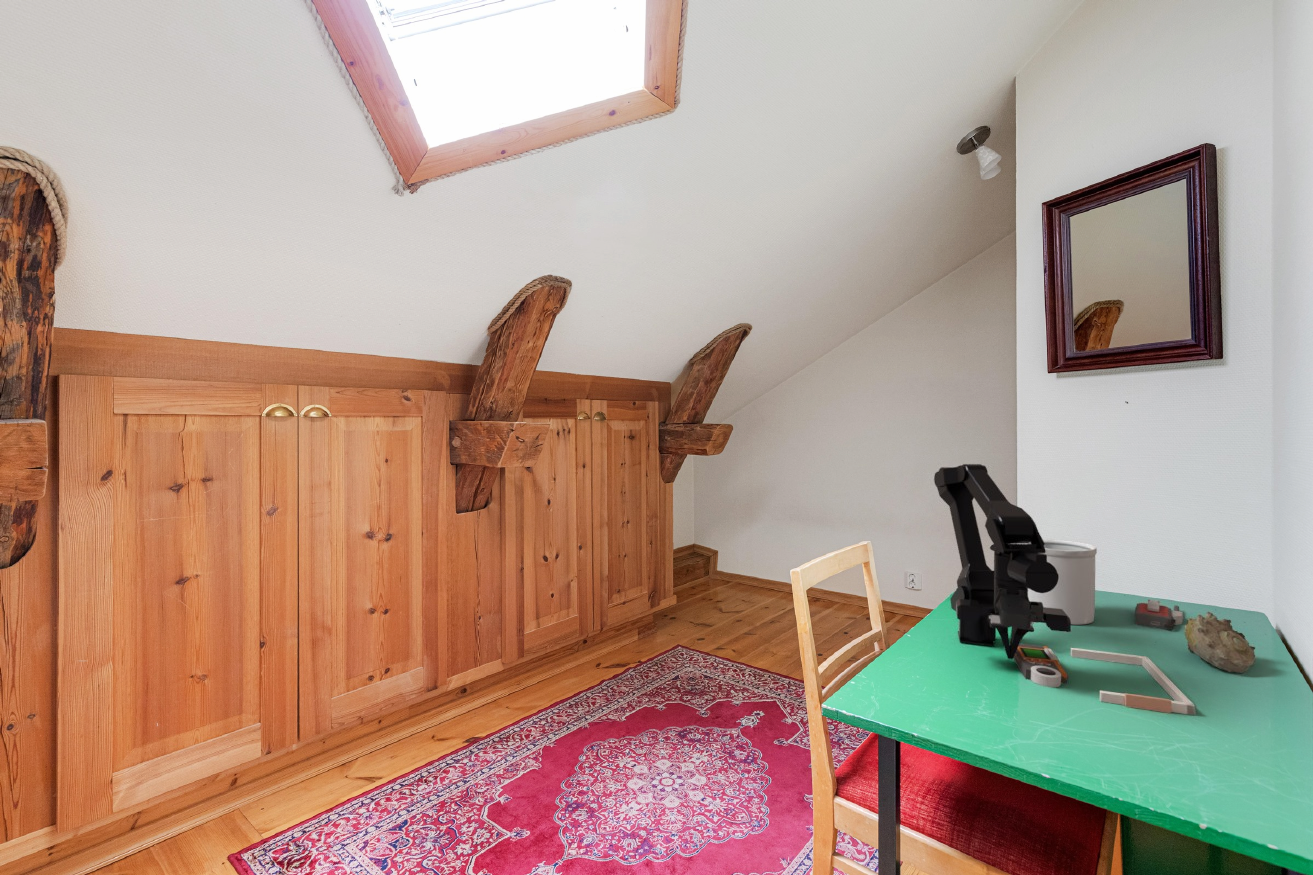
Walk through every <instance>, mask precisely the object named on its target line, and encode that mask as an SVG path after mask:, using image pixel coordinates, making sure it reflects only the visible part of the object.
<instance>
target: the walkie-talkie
mask: <svg viewBox="0 0 1313 875" xmlns="http://www.w3.org/2000/svg"><path fill="white" fill-rule="evenodd" d="M1134 612H1135V614H1134V615H1135V617H1134V618H1135V619H1134V622H1135V623H1134V624H1135V625H1137V626H1142V627H1143V626H1144V627H1149V628H1156V629H1159V630H1160V629H1161V630H1167V631H1169V630H1170V631H1171V630H1172V629H1174V626H1177V625H1182V624H1183V621H1184V612H1183V611H1180V606H1178V605H1174V606H1173V610H1172V608H1170V607H1168V606H1166V605H1162V604H1161V605H1160V600H1154V599H1148V600H1147V602H1146V603H1145V602H1139V603H1136V606H1135V609H1134Z"/></svg>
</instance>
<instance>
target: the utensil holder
mask: <svg viewBox="0 0 1313 875" xmlns="http://www.w3.org/2000/svg"><path fill="white" fill-rule="evenodd" d="M1042 539H1043V538H1042ZM1043 541H1044V543H1045V544H1044V548H1045V550H1046V552H1045V553H1043V554H1046V555H1047V562H1049V563H1050V564H1052V565H1053V566H1054V567H1055V569H1056V570H1057V573H1058V575H1059V579H1058V583H1057V585H1056V586H1055V588H1054V589H1052V590H1051V591H1049V592H1047V593H1037V592H1035V591H1033V590H1031V589H1029V588H1028V598H1029V601H1033V602H1042V604H1043V607H1046V608H1056V609H1062V610H1063V611H1064V612H1065V613H1066V614H1067V615H1068V617H1069V618H1070V621H1071V625H1088V624H1091V623H1093V622H1094V621H1095V610H1096V555H1097V552H1098V549H1097V547H1096V546H1095V545H1093V544H1090V543H1086V542H1081V541H1080V542H1079V541H1074V540H1066V539H1065V540H1064V539H1052V538H1050V539H1049V538H1046V539H1045V538H1044V539H1043ZM1027 544H1031V542H1029V543H1027Z"/></svg>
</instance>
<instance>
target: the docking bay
mask: <svg viewBox="0 0 1313 875" xmlns="http://www.w3.org/2000/svg"><path fill="white" fill-rule="evenodd" d="M1070 656H1071V657H1072V658H1078V659H1085V660H1086V659H1087V660H1096V661H1103V662H1112V663H1119V664H1125V665H1126V664H1127V665H1134V666H1135V665H1136V666H1142V667H1143V668H1144V669H1145V670H1146V671H1147V672H1148V673H1149V674H1150V676H1151V677H1152V678H1154V679H1155V681H1156V682H1157V683H1158V685H1159V686H1161V688H1162V689H1163V690H1164V691H1165V692H1166V693H1167V694H1168V695H1169V696H1170V697H1171V698H1172V700H1171V699H1168V698H1161V697H1156V696H1155V697H1154V696H1148V695H1141V694H1132V693H1126V692H1125V693H1121V692H1120V693H1119V692H1114V691H1113V692H1112V691H1108V690H1099V701H1100V702H1102V703H1109V704H1114V705H1115V704H1116V705H1123V706H1125V707H1127V708H1133V709H1140V710H1145V711H1146V710H1147V711H1154V712H1161V713H1167V714H1172V713H1175V714H1176V713H1177V714H1184V715H1190V716H1196V706H1195V705H1194V703H1193V702H1192V701H1191V700H1190V699H1189V697H1187V696H1186V695H1185V694H1184V693H1183V692H1182V691H1181V690H1180V689H1179V688H1178V687H1177V686H1176V685H1175V683H1173V682H1172V681H1171V679H1169V677H1167V675H1166V674H1165V673H1164V672H1163V671H1162V670H1161V669H1160V668H1159V667H1158V666H1156V664H1155V663H1154V662H1153V661H1152V660H1151V659H1150V658H1149V657H1148V656H1144V655H1135V654H1134V655H1133V654H1126V653H1125V654H1124V653H1118V652H1110V651H1102V650H1093V649H1084V648H1077V647H1070Z"/></svg>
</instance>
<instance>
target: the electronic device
mask: <svg viewBox="0 0 1313 875" xmlns="http://www.w3.org/2000/svg"><path fill="white" fill-rule="evenodd" d="M1013 661H1014V662H1015V664H1016V665H1017V667H1018V669H1019V670H1020V672H1021V674H1022V675H1023V677H1024V678H1025V680H1029V681H1031V682H1032V683H1034V684H1037V685H1039V686H1042V687H1045V688H1046V687H1047V688H1058V687H1060V686H1061V684H1065V685H1068V682H1069V675H1068V674H1067V673H1066V671H1065V669H1064V668H1063V667H1062V665H1061V664H1060V660H1059V658H1058V657H1057V655H1056V654H1055V652H1054V651H1053V650H1052V649H1051V648H1049V647H1048V646H1046V645H1045V646H1042V645H1035V644H1027V643H1026V644H1024V643H1020V644H1019V646H1018V648H1017V650H1016V653H1015V655H1014V657H1013Z"/></svg>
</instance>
